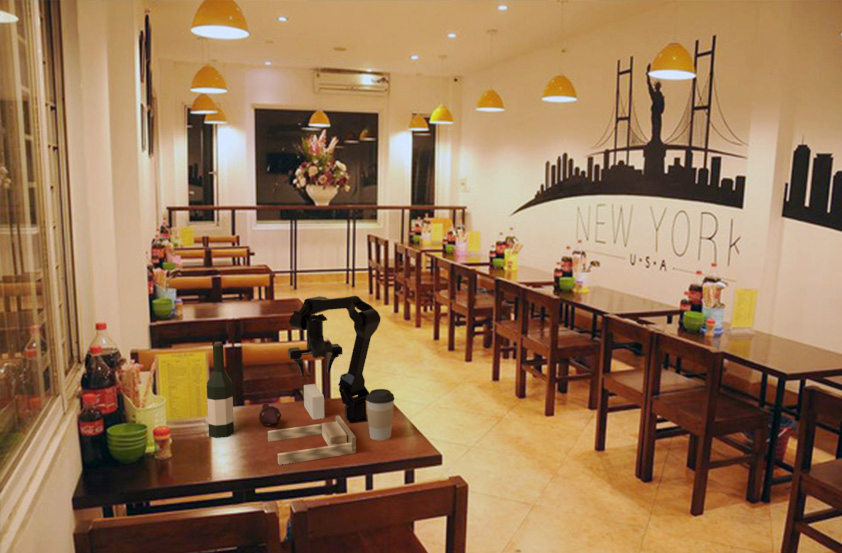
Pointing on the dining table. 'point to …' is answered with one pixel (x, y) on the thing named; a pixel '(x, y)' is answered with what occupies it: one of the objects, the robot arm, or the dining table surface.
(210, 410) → the wine bottle
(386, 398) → the coffee cup
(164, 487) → the dining table surface
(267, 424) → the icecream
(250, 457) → the dining table surface
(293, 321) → the robot arm
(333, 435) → the offcut upper
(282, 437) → the frame
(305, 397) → the white rectangular block
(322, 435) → the offcut lower
